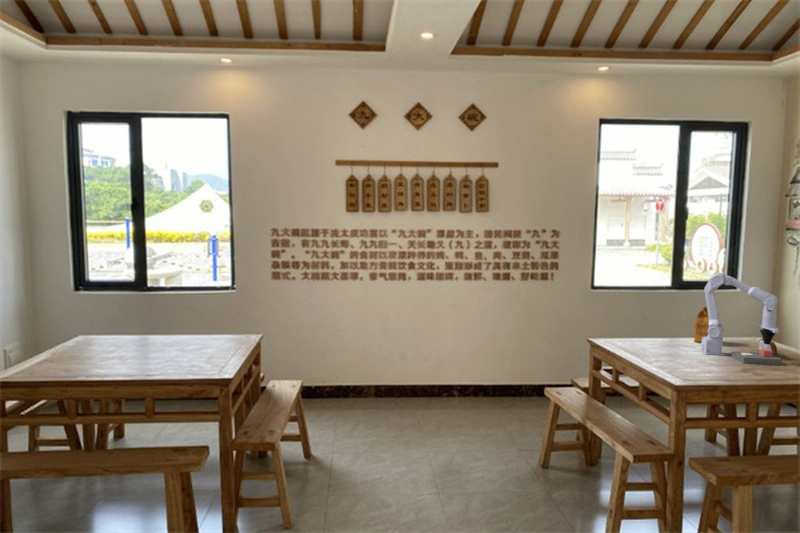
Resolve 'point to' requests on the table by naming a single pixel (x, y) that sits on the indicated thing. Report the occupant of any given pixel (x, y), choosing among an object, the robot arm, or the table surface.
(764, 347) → the tin
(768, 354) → the red button
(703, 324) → the coffee package
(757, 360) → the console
